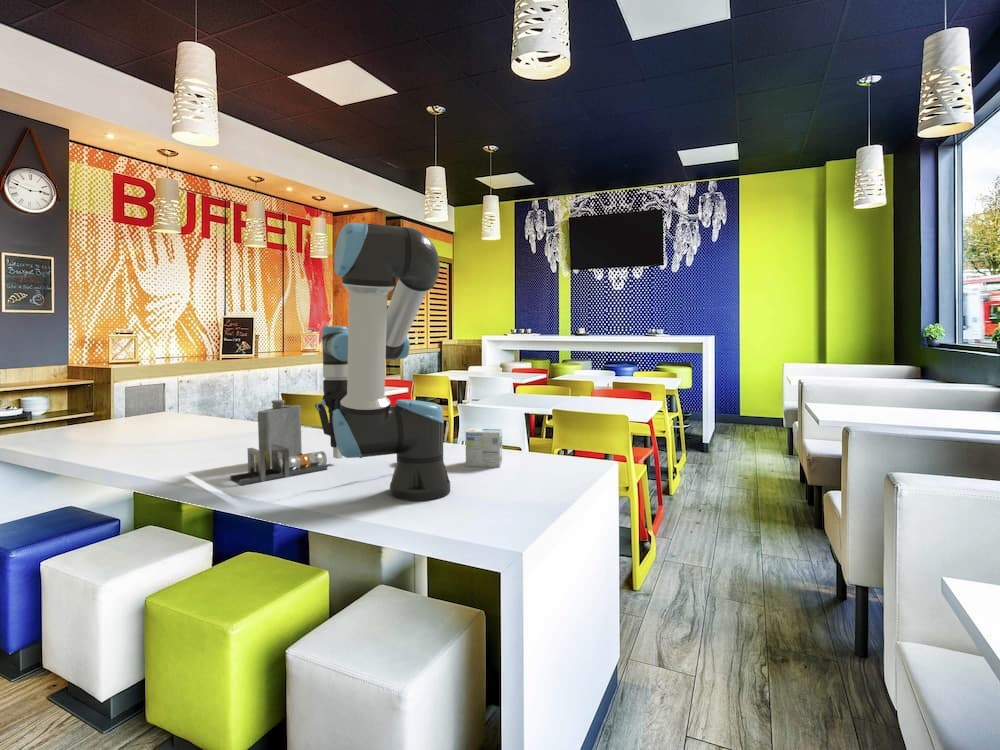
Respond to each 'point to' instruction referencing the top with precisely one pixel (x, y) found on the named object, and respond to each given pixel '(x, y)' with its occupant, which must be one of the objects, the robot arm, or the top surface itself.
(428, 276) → the robot arm
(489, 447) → the light bulb box
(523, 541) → the top surface
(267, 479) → the black base plate
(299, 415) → the hip flask
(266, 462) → the aperture plate
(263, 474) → the grey metal bracket
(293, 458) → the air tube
